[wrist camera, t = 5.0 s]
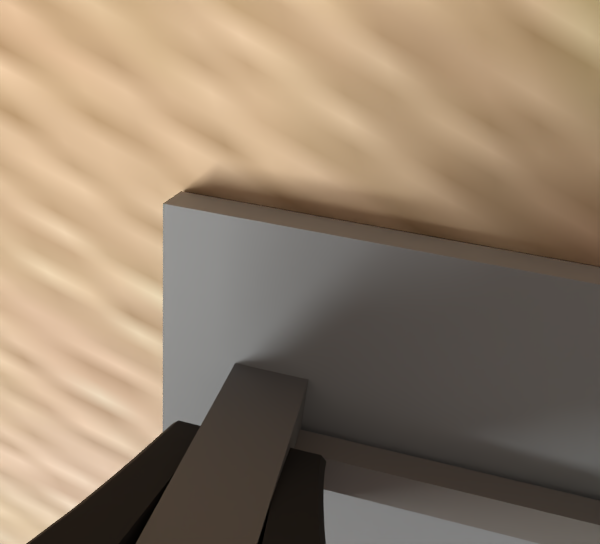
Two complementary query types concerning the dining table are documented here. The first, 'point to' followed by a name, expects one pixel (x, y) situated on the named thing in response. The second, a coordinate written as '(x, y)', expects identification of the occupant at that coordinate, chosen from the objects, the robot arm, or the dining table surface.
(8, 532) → the dining table surface
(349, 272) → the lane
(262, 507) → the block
